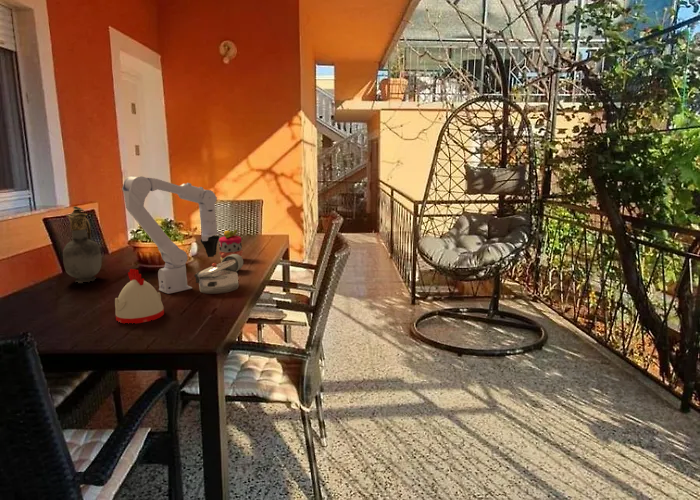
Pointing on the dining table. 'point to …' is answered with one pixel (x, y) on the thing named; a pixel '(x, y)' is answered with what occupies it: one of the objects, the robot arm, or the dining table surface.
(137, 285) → the kitchen timer
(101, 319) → the dining table surface
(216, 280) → the cooker pot
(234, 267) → the ceramic mug
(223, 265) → the cooker lid
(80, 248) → the grey rounded bottle shape
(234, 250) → the cake
